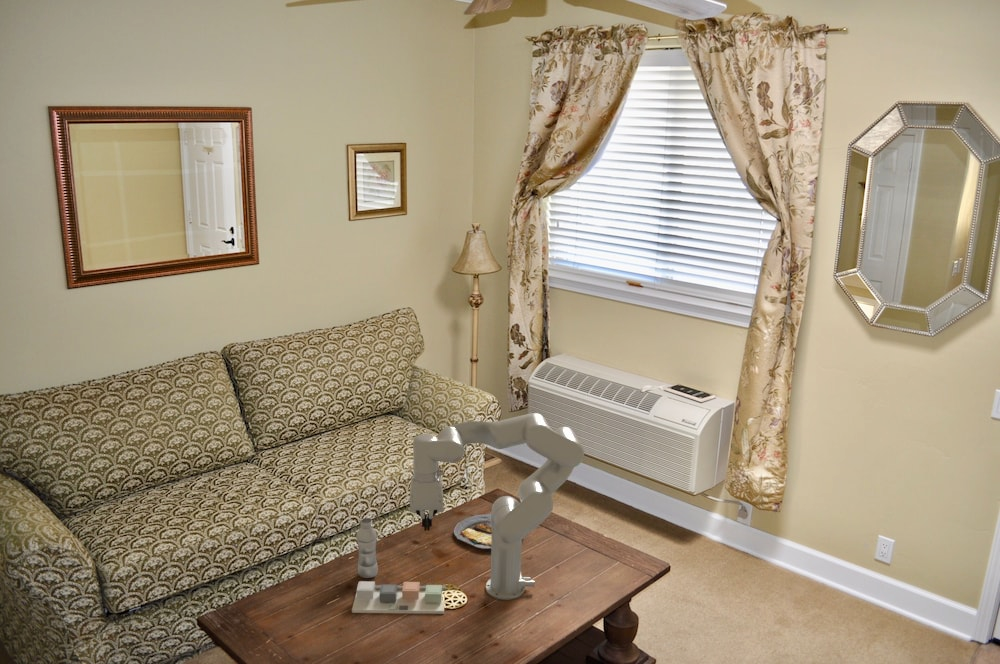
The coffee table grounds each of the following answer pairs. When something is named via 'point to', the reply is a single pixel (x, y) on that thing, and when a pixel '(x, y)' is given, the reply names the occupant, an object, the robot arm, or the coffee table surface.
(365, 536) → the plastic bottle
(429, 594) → the key sage
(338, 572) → the coffee table surface
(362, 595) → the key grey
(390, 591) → the key charcoal
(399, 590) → the keyboard base
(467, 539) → the food plate
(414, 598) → the key terracotta
